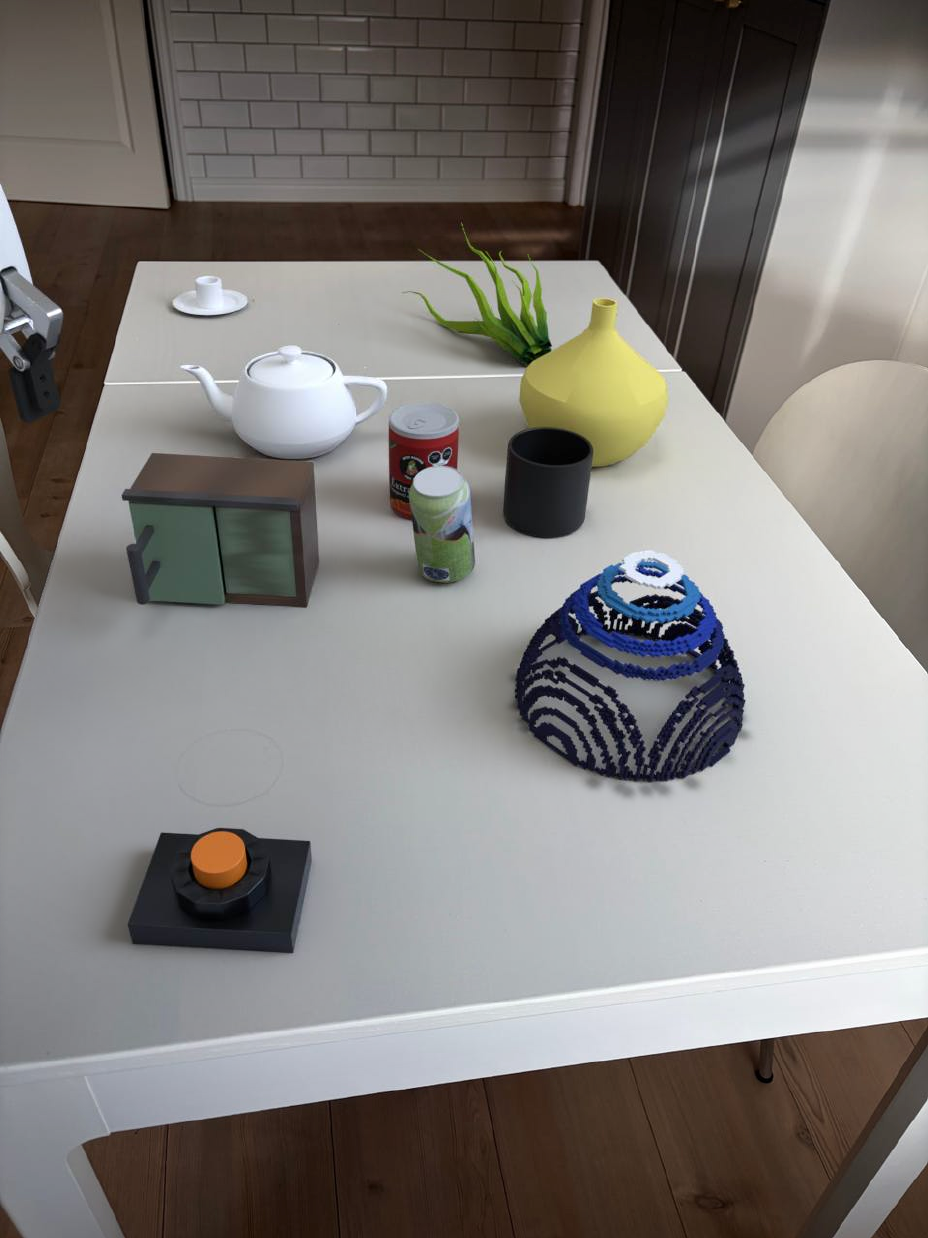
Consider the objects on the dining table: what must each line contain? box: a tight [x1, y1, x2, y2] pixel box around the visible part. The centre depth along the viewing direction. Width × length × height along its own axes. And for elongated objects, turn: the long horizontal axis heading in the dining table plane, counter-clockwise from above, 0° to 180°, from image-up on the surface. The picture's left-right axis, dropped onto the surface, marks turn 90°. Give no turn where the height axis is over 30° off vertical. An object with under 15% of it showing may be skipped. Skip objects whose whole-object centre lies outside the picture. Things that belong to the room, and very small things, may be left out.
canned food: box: [388, 402, 460, 520], centre depth 112 cm, size 8×8×11 cm
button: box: [191, 831, 247, 889], centre depth 68 cm, size 4×4×2 cm
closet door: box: [125, 501, 225, 606], centre depth 92 cm, size 8×6×11 cm
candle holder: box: [171, 275, 249, 316], centre depth 161 cm, size 12×12×4 cm
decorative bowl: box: [513, 549, 746, 783], centre depth 85 cm, size 20×20×14 cm
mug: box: [502, 427, 593, 538], centre depth 112 cm, size 9×12×9 cm
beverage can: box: [409, 466, 476, 584], centre depth 100 cm, size 6×7×12 cm
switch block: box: [127, 827, 313, 954], centre depth 69 cm, size 11×8×4 cm
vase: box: [518, 297, 669, 468], centre depth 122 cm, size 18×18×19 cm
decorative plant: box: [401, 222, 553, 367], centre depth 152 cm, size 18×30×15 cm, turn 12°
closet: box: [121, 452, 320, 608], centre depth 97 cm, size 16×9×13 cm, turn 88°
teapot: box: [179, 344, 388, 460], centre depth 122 cm, size 25×16×12 cm, turn 92°
